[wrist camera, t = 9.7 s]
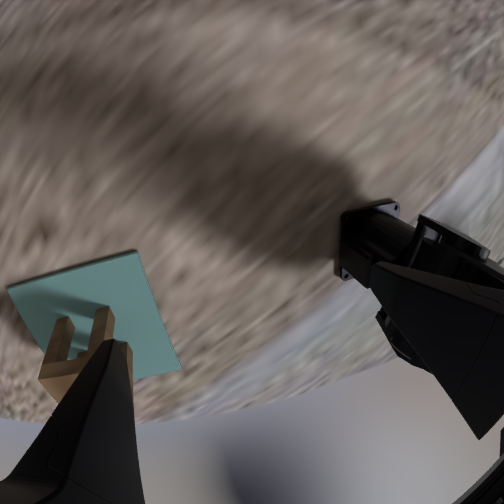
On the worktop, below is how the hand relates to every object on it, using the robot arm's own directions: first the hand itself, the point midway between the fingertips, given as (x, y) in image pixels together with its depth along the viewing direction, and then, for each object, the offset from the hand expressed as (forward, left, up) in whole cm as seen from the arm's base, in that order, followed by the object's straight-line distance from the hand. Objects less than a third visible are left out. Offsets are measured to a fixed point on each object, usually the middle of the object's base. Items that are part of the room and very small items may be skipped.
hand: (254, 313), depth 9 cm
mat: (+11, +8, -12) cm, 18 cm away
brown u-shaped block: (+11, +8, -12) cm, 18 cm away
